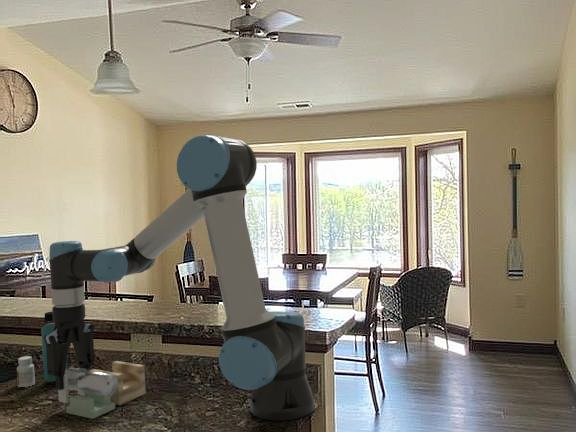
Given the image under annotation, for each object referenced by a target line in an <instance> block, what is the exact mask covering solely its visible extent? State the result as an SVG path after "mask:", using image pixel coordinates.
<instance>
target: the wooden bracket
mask: <svg viewBox="0 0 576 432" xmlns="http://www.w3.org/2000/svg"><path fill="white" fill-rule="evenodd" d="M111 368H112V369H111V370H112V371H108V370H101V369H96V368H93V369H90V370H89V371H93V372H99V373H105V374H111V375H114V376H116V378H117V380H118V386H117V389H116V391H115V393H114V394H113V395H112V396H111V402H115V406H122V405H123V404H124V405H125V404H127V403H128V402H130V401H133V400H134V399H137V398H140V397H141V396H143V395H146V391H147V390H146V372H145V369H146V367H145V364H138V363H132V362H126V361H119V360H115V361H112V363H111Z"/></svg>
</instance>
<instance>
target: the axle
mask: <svg viewBox="0 0 576 432" xmlns="http://www.w3.org/2000/svg"><path fill="white" fill-rule="evenodd" d="M65 375H67V376H68V390H72V391H81V392H87V393H92V394H97V395H102V396H107V397H109V396H112V395H113V394H114V393H115V391H116V389H117V386H118V380H117V378H116V376H114V375H111V374H105V373H99V372H93V371H90V370H88V371H87V370H82V369H76V368H75V367H68V368H67V369H66V370H65Z"/></svg>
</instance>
